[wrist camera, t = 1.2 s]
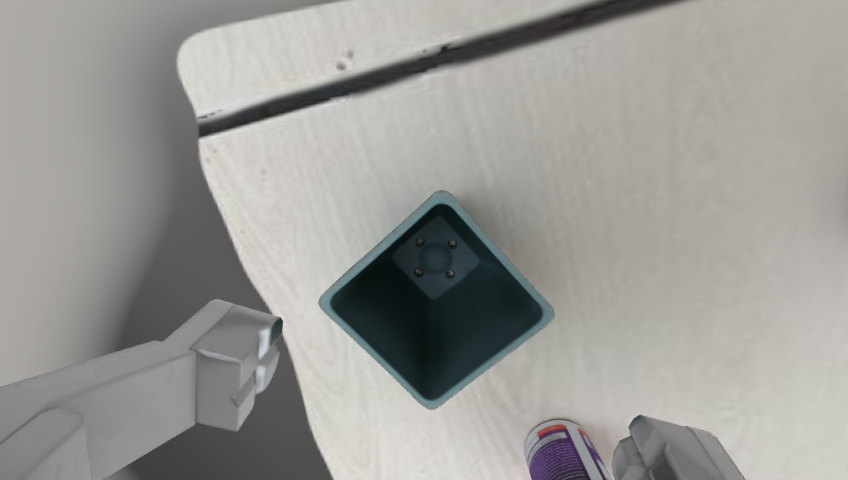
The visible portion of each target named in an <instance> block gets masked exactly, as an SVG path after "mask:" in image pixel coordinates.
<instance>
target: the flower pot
mask: <svg viewBox="0 0 848 480" xmlns="http://www.w3.org/2000/svg"><path fill="white" fill-rule="evenodd" d="M419 238H422V239H423V240H424V243H423V244H422V245H418V244H417V240H418V239H419ZM450 240H455V241H456V245H455V246H454V247H451V246H449V241H450ZM416 269H421V270H422V274H421V275H417V274H416V273H415V270H416ZM449 270H452V271H453V272H454V274H453V276H448V275H447V271H449ZM319 306H320V308H321V309H322V310H323V311H324V312H325V313H326V314H327V315H328V316H329V317H330V318H331V319H332V320H333V321H334V322H336V323H337V324H338V325H339V326H340V327H341V328H342V329H343V330H344V331H345V332H346V333H347V334H348V335H349V336H350V337H352V338H353V339H354V340H355V341H356V342H357V343H358V344H359V345H360V346H361V347H362V348H364V350H366V351H367V353H368V354H370V355H371V356H372V357H373V358H374V359H375V360H376V361H377V362H378V363H379V364H380V365H381V366H382V367H383V368H384V369H386V370H387V371H388V372H389V373H390V374H391V375H392V376H393V377H394V379H396V380H397V381H398V382H399V383H400V384H401V385H402V386H403V387H404V388H405V389H406V390H407V391H408V392H409V393H410V394H411V395H412V396H413V397H414V398H415V399H416V400H417V401H418V402H419V403H420V404H421V405H422V406H424V407H426V408H427V409H430V410H434V409H436V408H438V407H439V406H441V405H442V404H444V403H445V402H446V401H447V400H449V399H450V398H451V397H453V396H454V395H455V394H456V393H458V392H459V391H460V390H462V389H463V388H464V387H465V386H467V385H468V384H469V383H471V382H472V381H473V380H474V379H476V378H478V377H479V376H480V375H481V374H483V373H484V372H485V371H486V370H488V369H489V368H490V367H492V366H493V365H494V364H496V363H497V362H499V361H500V360H501V359H502V358H504V357H505V356H506V355H507V354H509V353H510V352H512V351H513V350H514V349H516V348H517V347H519V346H520V345H521V344H522V343H524V342H525V341H526V340H528V339H529V338H530V337H532V336H533V335H535V334H536V333H537V332H539V331H540V330H541V329H543V328H544V327H545V326H546V325H547V324H548V323H549V322H551V321H552V319H553V318H554V315H555V313H554V310H553V308H552V306H551V305H550V304H549V303H548V302H547V301H546V300H545V299H544V298H543V297H542V295H541V294H540V293H539V292H538V291H537V290H536V289H535V288H534V287H533V286H532V285H531V284H530V283H529V281H528V280H527V279H526V278H525V277H524V276H523V275H522V274H521V273H520V272H519V270H518V269H517V268H516V267H515V266H514V265H513V264H512V263H511V262H510V261H509V260H508V258H507V257H506V256H505V255H504V254H503V253H502V252H501V251H500V249H499V248H498V247H497V246H496V245H495V244H494V243H493V241H492V240H491V239H490V238H489V237H488V236H487V235H486V233H485V232H484V231H483V230H482V229H481V228H480V227H479V226H478V224H477V223H476V222H475V221H474V220H473V219H472V218H471V216H470V215H469V214H468V213H467V212H466V211H465V210H464V208H463V207H462V206H461V205H460V204H459V203H458V201H457V200H456V199H455V198H454V197H453V196H452V195H451V194H450V193H449V192H447V191H444V190H440V191H437V192H435V193H434V194H432V195H431V196H430V197H429V198H428V199H427V200H426V201H425V202H424V203H423V204H422V205H421V206H420V207H419V208H417V209H416V210H415V211H414V212H413V213H412V214H411V215H410V216H409V217H408V218H407V219H406V220H404V221H403V222H402V223H401V224H400V225H399V226H398V227H397V228H396V229H395V230H393V231H392V232H391V233H390V234H389V235H388V236H387V237H386V238H384V239H383V240H382V241H381V242H380V243H379V244H378V245H377V246H375V247H374V248H373V249H372V250H371V251H370V252H369V253H367V254H366V255H365V256H364V257H363V258H362V259H361V260H359V261H358V262H357V263H356V264H355V265H353V266H352V267H351V268H350V269H349V270H348V271H347V272H346V273H345V274H344V275H343V276H342V277H341V278H339V279H338V280H337V281H336V282H335V283H334V284H333V285H332V286H331V287H330V288H329V289H328V290H327V291H326V292H325V293H324V294H323V295H322V296H321V297H320V300H319Z"/></svg>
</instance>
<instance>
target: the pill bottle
mask: <svg viewBox="0 0 848 480" xmlns="http://www.w3.org/2000/svg"><path fill="white" fill-rule="evenodd" d="M524 453H525V458H526V462H527V466H528V469H529V472H530V475H531V478H532V480H612V479H611V477H610V475H609V473H608V471H607V469H606V467H605V465H604V464H603V462H602V460H601V458H600V456H599V454H598V452H597V451H596V449H595V447H594V445H593V443H592V441H591V440H590V438H589V436H588V435H587V433H586V432H585V431H584V430H583V429H582V428H581V427H580V426H578V425H577V424H575V423H572V422H570V421H565V420H553V421H548V422H545V423H543V424H541V425H539V426H537V427H536V428H535V429H534V430H533V431H532V432H531V433H530V434H529V436H528V438H527V440H526V442H525V447H524Z"/></svg>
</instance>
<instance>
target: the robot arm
mask: <svg viewBox="0 0 848 480" xmlns="http://www.w3.org/2000/svg"><path fill="white" fill-rule="evenodd" d="M282 326H283V320H282V319H281V317H277V316H274V315H271V314H267V313H264V312H260V311H257V310H254V309H250V308H247V307H243V306H240V305H236V304H232V303H229V302H225V301H221V300H218V299H216V300H212V301H210V302H209V303H208V304H206V305H205V306H204V307H203V308H202V309H201V310H199V311H198V312H197V313H196V314H195V315H193V317H191V318H190V319H189V320H188V321H187V322H185V323H184V324H183V325H182V326H181V327H179V328H178V329H177V330H176V331H175V332H174V333H172V334H171V335H170V336H169V337H168V338H167V339H165V340H164V341H163V342H160V341H156V340H154V341H151V342H148V343H144V344H141V345H138V346H134V347H131V348H128V349H125V350H121V351H118V352H115V353H111V354H108V355H105V356H102V357H98V358H95V359H91V360H88V361H85V362H82V363H78V364H75V365H71V366H68V367H65V368H62V369H58V370H55V371H52V372H48V373H45V374H42V375H39V376H35V377H32V378H29V379H25V380H22V381H18V382H15V383H12V384H8V385H5V386H2V387H0V480H102V479H104V478H106V477H108V476H109V475H111V474H113V473H114V472H116V471H118V470H119V469H121V468H123V467H124V466H126V465H128V464H129V463H131V462H133V461H135V460H136V459H138V458H140V457H141V456H143V455H145V454H146V453H148V452H150V451H151V450H153V449H155V448H156V447H158V446H160V445H161V444H163V443H165V442H166V441H168V440H170V439H171V438H173V437H175V436H177V435H178V434H180V433H181V432H183V431H185V430H187V429H188V428H190V427H192V426H193V425H195V422H197V423H202V424H206V425H210V426H214V427H218V428H222V429H226V430H231V431H235V432H237V431H238V429H239V428H240V426H241V425H242V423H243V422H244V420H245V419H246V417H247V416H248V414H249V413H250V411H251V410H252V408H253V407H254V399H255V395H256V394H258V393H260V392H262V391H264V390H265V388H266V387H267V385H268V384H269V382H270V380H271V378H272V376H273V374H274V371H275V369H276V366H277V362H278V359H279V352H280V348H279V346H278V345H277V343H276V341H277V339H278V338H279V336H280V335H281V334H282ZM629 430H630V434H631V436H629V437H627V438H625V439H623V440H621V441H619V443H618V445H617V447H616V449H615V450H614V454H613V462H612V467H613V475H614V478H615V480H746V479H745V478H744V476H743V475H742V474H741V472H740V471H739V469H738V468H737V466H736V465H735V463H734V462H733V461H732V459H731V458H730V456H729V455H728V453H727V452H726V450H725V449H724V448H723V446H722V445H721V443H720V442H719V440H718V439H717V438H716V437H715V436H714V435H712V434H711V433H710V432H708V431H704V430H700V429H696V428H691V427H687V426H681V425H677V424H673V423H670V422H666V421H662V420H658V419H654V418H651V417H647V416H643V415H639V416H637V417H636V418H634V419H633V421H632V422H631V424H630V425H629Z"/></svg>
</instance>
